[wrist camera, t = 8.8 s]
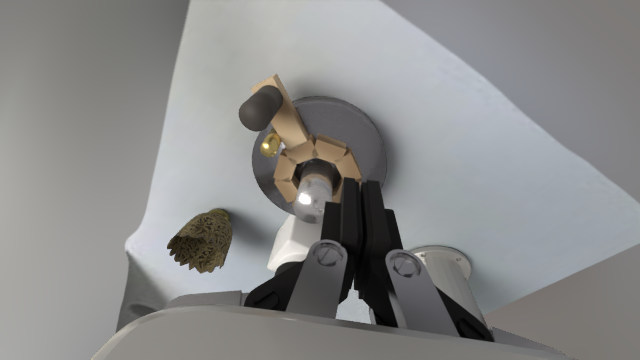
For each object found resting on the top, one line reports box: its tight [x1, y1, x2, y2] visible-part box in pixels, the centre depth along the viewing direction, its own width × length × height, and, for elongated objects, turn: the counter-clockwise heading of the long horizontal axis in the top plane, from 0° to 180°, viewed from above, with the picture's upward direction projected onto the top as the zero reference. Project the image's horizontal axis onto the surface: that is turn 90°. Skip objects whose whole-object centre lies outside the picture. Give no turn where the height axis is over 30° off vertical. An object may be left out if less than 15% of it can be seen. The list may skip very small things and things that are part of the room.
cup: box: [167, 209, 232, 273], centre depth 35 cm, size 8×7×8 cm
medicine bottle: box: [267, 214, 323, 277], centre depth 34 cm, size 7×7×12 cm
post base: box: [252, 96, 387, 224], centre depth 28 cm, size 16×16×10 cm
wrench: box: [239, 74, 362, 206], centre depth 25 cm, size 16×10×7 cm, turn 26°
